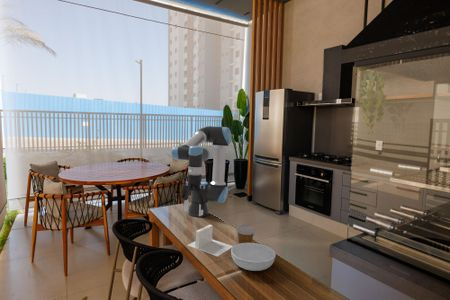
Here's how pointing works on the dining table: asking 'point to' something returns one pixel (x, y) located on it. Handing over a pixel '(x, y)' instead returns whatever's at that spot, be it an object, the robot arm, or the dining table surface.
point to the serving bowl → (253, 256)
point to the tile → (203, 236)
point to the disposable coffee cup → (245, 234)
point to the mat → (213, 247)
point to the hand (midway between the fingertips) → (193, 213)
